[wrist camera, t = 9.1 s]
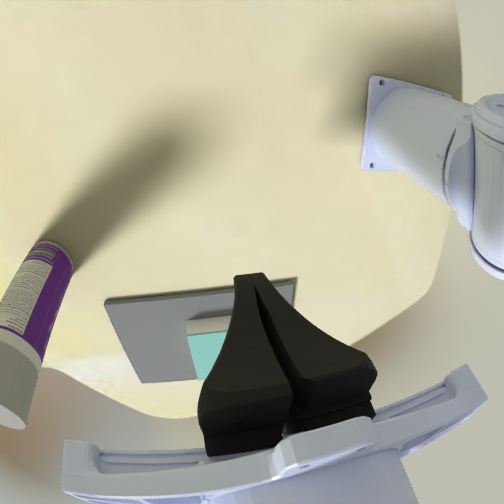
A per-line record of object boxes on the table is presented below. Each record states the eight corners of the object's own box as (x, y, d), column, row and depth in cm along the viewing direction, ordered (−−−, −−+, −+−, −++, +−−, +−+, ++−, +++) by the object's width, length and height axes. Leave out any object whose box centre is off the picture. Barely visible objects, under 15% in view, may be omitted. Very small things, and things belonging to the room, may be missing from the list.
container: (75, 286, 24) (36, 436, 12) (33, 278, 23) (-20, 417, 11) (73, 244, 22) (13, 405, 10) (27, 236, 20) (-49, 381, 8)
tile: (255, 327, 28) (186, 336, 27) (254, 372, 32) (198, 380, 31) (251, 312, 29) (186, 320, 28) (251, 359, 34) (196, 366, 33)
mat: (291, 280, 29) (293, 284, 28) (281, 363, 37) (282, 367, 36) (104, 300, 26) (103, 305, 25) (141, 379, 34) (141, 383, 33)
